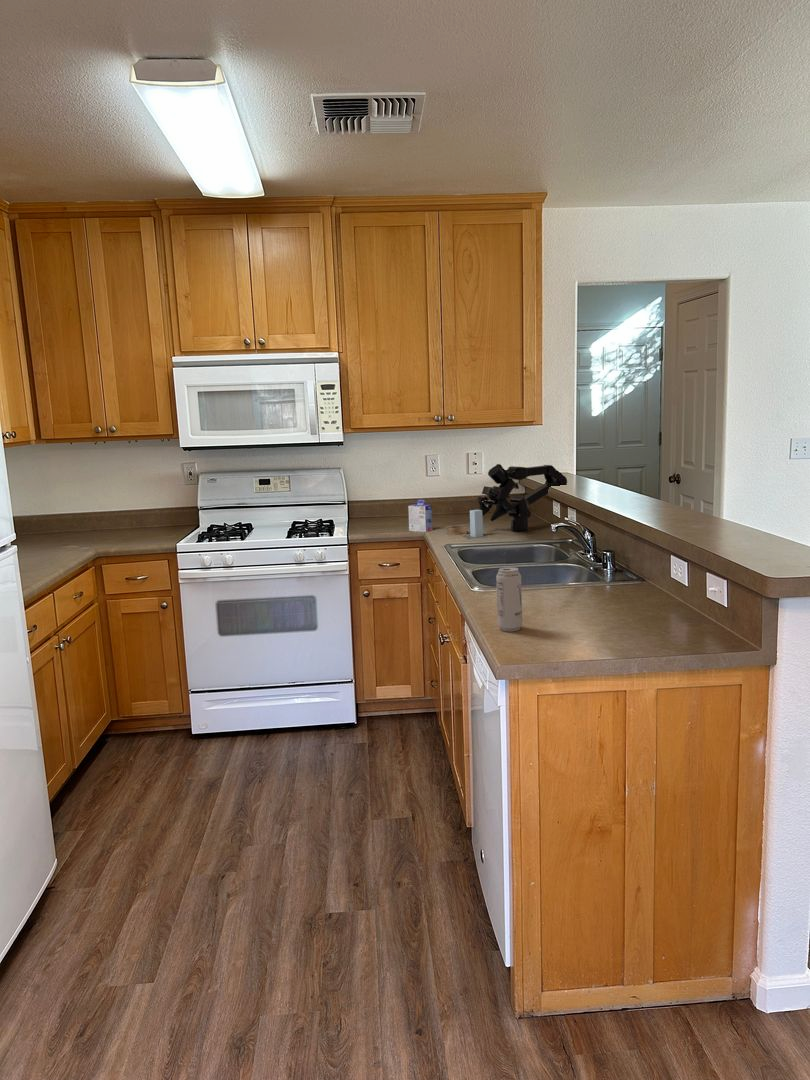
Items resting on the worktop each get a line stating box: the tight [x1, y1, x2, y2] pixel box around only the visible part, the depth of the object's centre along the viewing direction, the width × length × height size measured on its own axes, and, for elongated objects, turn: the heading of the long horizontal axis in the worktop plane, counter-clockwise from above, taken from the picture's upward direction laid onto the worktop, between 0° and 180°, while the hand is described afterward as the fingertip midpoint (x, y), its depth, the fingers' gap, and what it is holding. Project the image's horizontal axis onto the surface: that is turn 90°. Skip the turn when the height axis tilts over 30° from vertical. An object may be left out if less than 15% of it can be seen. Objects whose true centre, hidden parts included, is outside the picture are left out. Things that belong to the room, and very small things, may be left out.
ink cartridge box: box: [408, 499, 434, 533], centre depth 340 cm, size 10×6×14 cm, turn 53°
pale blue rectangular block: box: [469, 509, 484, 537], centre depth 317 cm, size 4×4×11 cm
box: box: [446, 525, 468, 536], centre depth 327 cm, size 8×7×4 cm
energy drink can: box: [495, 566, 523, 633], centre depth 184 cm, size 6×6×15 cm
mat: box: [462, 534, 488, 540], centre depth 318 cm, size 9×9×1 cm
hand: (484, 519), depth 319 cm, fingers open, 9 cm apart
